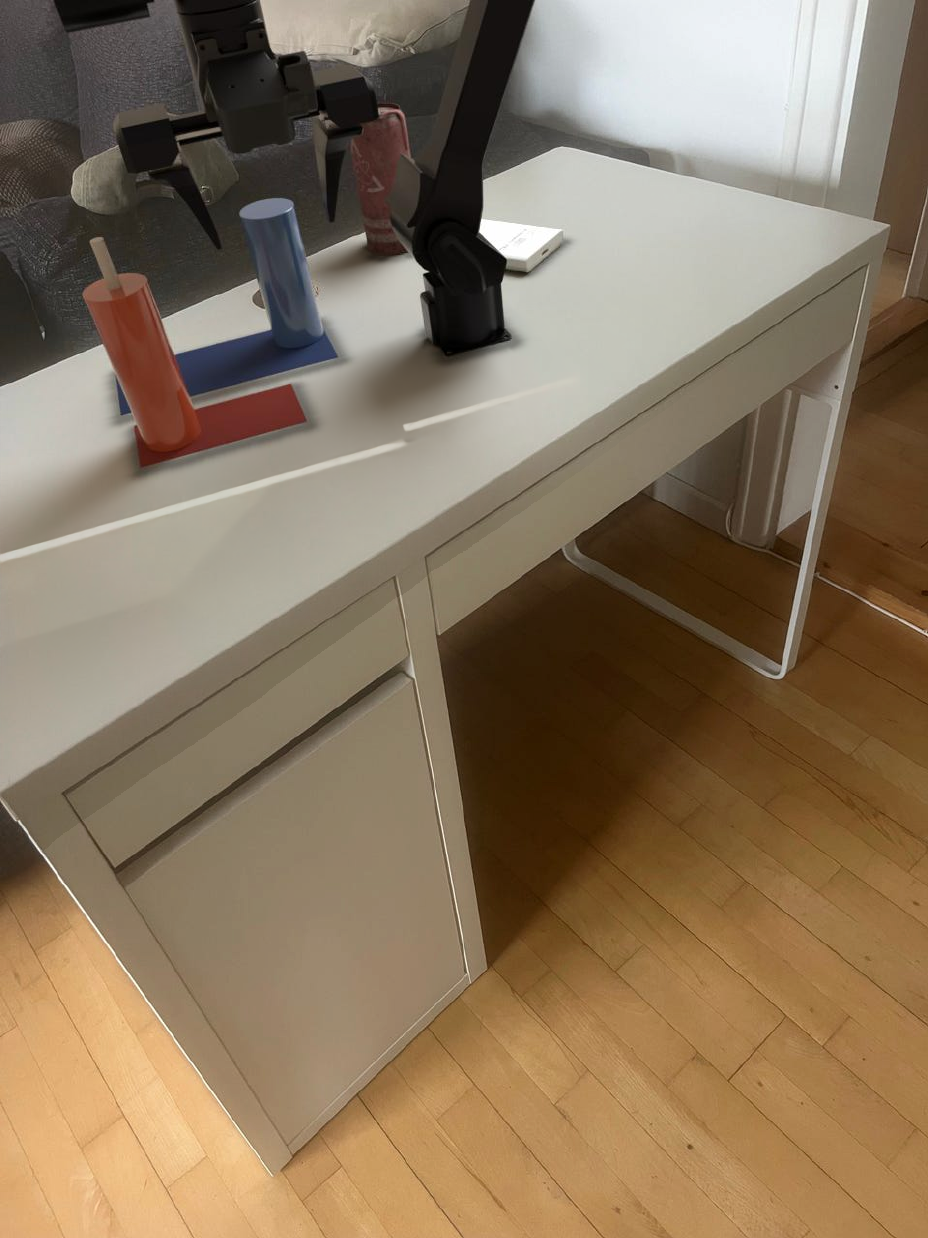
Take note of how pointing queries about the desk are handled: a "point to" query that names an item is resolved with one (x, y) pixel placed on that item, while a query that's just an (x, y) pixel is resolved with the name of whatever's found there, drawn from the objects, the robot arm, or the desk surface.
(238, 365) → the navy mat
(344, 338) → the desk surface
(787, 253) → the desk surface
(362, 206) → the can
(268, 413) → the oxblood mat
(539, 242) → the hard drive
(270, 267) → the slate blue jar
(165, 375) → the orange red candle
